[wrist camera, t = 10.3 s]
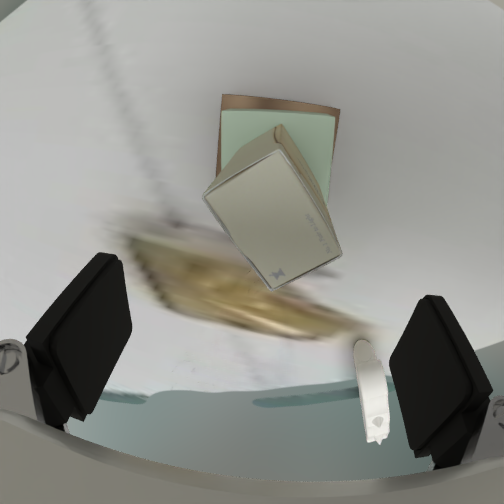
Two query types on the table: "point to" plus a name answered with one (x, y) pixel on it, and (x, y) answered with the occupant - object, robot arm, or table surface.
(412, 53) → the table surface
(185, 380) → the table surface
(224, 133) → the tower top block
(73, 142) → the table surface
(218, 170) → the tower base block
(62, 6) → the table surface
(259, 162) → the skincare box
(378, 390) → the white brass knuckles
